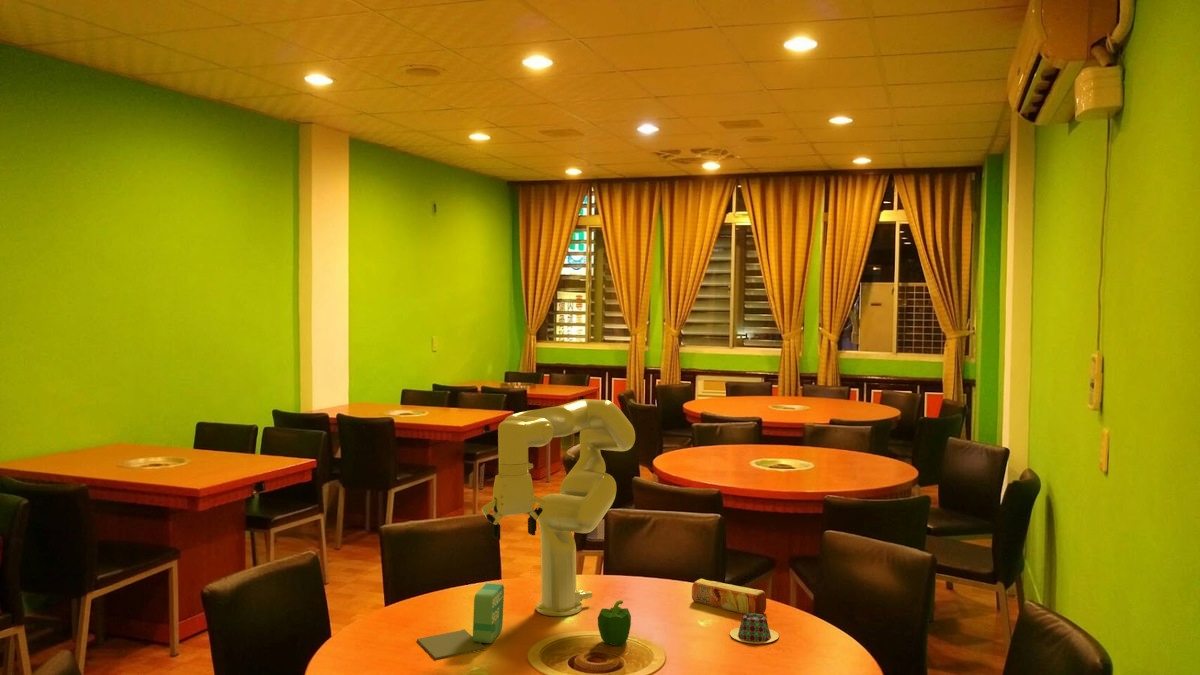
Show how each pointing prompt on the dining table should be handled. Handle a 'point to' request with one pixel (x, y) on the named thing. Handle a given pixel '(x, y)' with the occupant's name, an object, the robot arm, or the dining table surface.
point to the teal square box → (488, 613)
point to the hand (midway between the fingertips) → (514, 536)
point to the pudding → (754, 630)
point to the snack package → (729, 597)
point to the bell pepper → (614, 624)
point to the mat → (450, 644)
